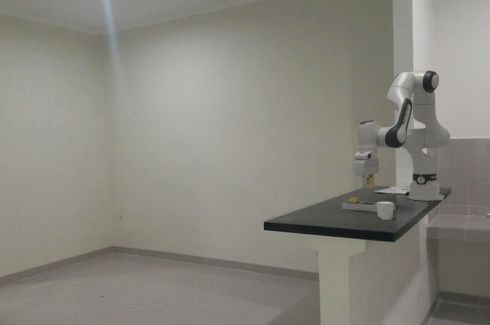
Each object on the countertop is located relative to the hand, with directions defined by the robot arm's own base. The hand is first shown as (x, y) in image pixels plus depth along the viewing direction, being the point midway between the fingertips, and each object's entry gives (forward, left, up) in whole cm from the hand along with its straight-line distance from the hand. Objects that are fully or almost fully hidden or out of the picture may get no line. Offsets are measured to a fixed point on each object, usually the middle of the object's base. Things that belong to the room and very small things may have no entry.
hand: (368, 184), depth 192 cm
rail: (0, 0, -13) cm, 13 cm away
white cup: (+14, +13, -13) cm, 23 cm away
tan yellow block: (0, 0, -2) cm, 2 cm away
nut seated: (0, -8, -12) cm, 14 cm away
